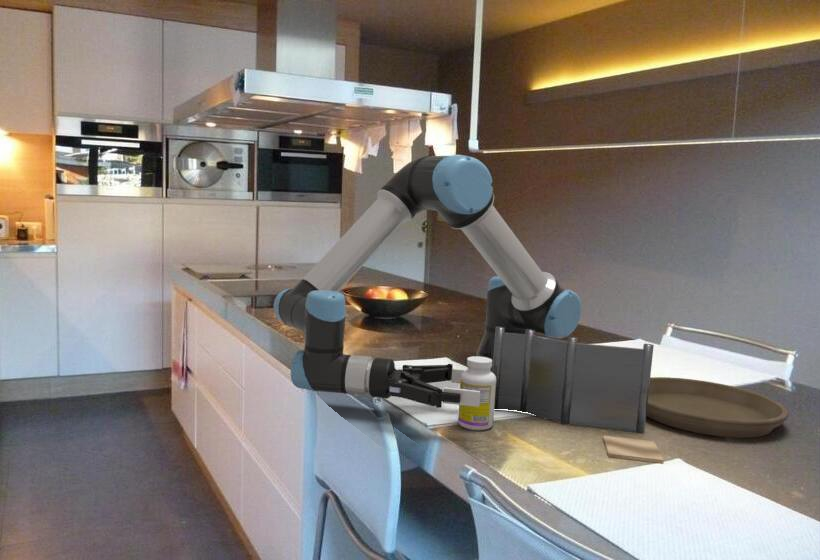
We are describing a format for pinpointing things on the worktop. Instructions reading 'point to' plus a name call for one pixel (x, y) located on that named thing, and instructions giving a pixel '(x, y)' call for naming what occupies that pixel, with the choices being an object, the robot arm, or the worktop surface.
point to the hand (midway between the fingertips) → (482, 388)
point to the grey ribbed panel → (572, 380)
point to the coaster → (632, 449)
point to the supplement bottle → (484, 382)
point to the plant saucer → (712, 408)
